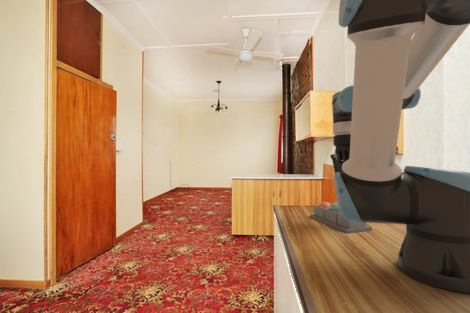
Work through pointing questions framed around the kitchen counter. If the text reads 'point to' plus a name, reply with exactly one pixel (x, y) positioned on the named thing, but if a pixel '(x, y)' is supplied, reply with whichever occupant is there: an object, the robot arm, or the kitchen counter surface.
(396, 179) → the robot arm
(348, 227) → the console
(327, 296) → the kitchen counter surface
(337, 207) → the teal button
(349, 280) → the kitchen counter surface
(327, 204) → the salmon button
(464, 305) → the kitchen counter surface
